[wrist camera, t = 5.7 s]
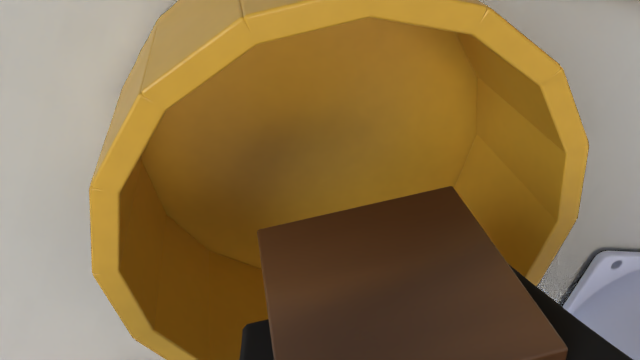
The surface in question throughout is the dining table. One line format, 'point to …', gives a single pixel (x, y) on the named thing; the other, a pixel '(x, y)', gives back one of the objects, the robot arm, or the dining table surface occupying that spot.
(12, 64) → the dining table surface
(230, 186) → the tin
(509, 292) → the walnut block
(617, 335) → the robot arm
